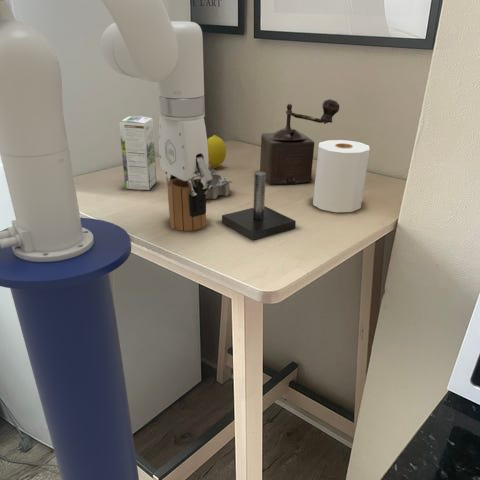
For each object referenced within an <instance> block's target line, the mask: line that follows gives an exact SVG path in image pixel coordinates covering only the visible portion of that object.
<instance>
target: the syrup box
mask: <svg viewBox="0 0 480 480" xmlns="http://www.w3.org/2000/svg"><path fill="white" fill-rule="evenodd" d="M119 136H120V146H121V147H120V148H121V156H122V157H121V158H122V167H123V178H124V188H125V189H126V190H136V191H137V190H139V191H150V190H151V189H152V188H153V187H154V186H155V185H156V183H157V167H156V166H157V165H156V151H155V134H154V119H153V118H152V117H148V116H142V115H130V116H126V117H125V118H123V119H122V120H120V121H119Z"/></svg>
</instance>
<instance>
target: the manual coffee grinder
mask: <svg viewBox="0 0 480 480" xmlns="http://www.w3.org/2000/svg"><path fill="white" fill-rule="evenodd" d="M321 106H322V111H323V114H322V115H321V117H320V118H317V117H314V116H311V115H306V114H300V113H295V112H293V110H292V108H293V104H292V103H287V105H286V111H285V114H286V125H285V127H284V128H281V129H279V130H277V131H275V132H267V133H266V132H264V133H261V138H260V139H261V140H260V157H259V159H260V160H259V172H265V173H266V180H265V182H267V184H268V185H271V186H272V185H273V186H274V185H294V184H303V183H311V182H313V181H312V173H313V163H314V162H313V161H314V152H315V141H314V140H313V139H311V138H310V137H309V136H307V135H305V134H304V133H303V132H300V131H298V130H297V129H295V128H292V127H291V119H292V117H294V118H296V119H301V120H307V121H311V122H315V123H317V124H324V125H326V124H328V123H331V124H332V123H333V118H334V116H335V115H336V114H337V113H339V111H340V104H339V103H338V101H337V100H335V99H331V98H328V99H326V100H323V102H322V105H321Z"/></svg>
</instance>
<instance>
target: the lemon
mask: <svg viewBox="0 0 480 480" xmlns="http://www.w3.org/2000/svg"><path fill="white" fill-rule="evenodd" d="M207 145H208V161H209V165H210V166H211V167H212V168H213V169H216V168H218V167H219V166H220V165H222V164H223V163H224V161H225V160H226V156H227V148H226V144H225V141H224V140H223V139H222V138H221V137H219V136H218V135H216V134H213V135H212V136H210V137H208V138H207Z"/></svg>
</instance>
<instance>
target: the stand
mask: <svg viewBox="0 0 480 480" xmlns="http://www.w3.org/2000/svg"><path fill="white" fill-rule="evenodd" d="M253 182H254V184H253V207H250V208H245V209H242V210H238V211H233V212H230V213H225V214H222V215H221V223H222V224H223V225H226V226H227V227H229V228H231V229H233V230H234V231H236V232H238V233H239V234H241V235H243V236H245V237H246V238H248V239H250V240H252V241H255V240H259V239H263V238H267V237H271V236H272V235H276V234H280V233H284V232H287V231H290V230H294V229H296V221H297V220H295V219H292V217H291V218H290V217H288V216H286V215H285V214H282V213H280V212H278V211H276V210H274V209H272V208H270V207H268V206H266V205H265V203H266V202H265V201H266V200H265V199H266V173H265V172H260V171H256V172H254V181H253Z"/></svg>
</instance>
